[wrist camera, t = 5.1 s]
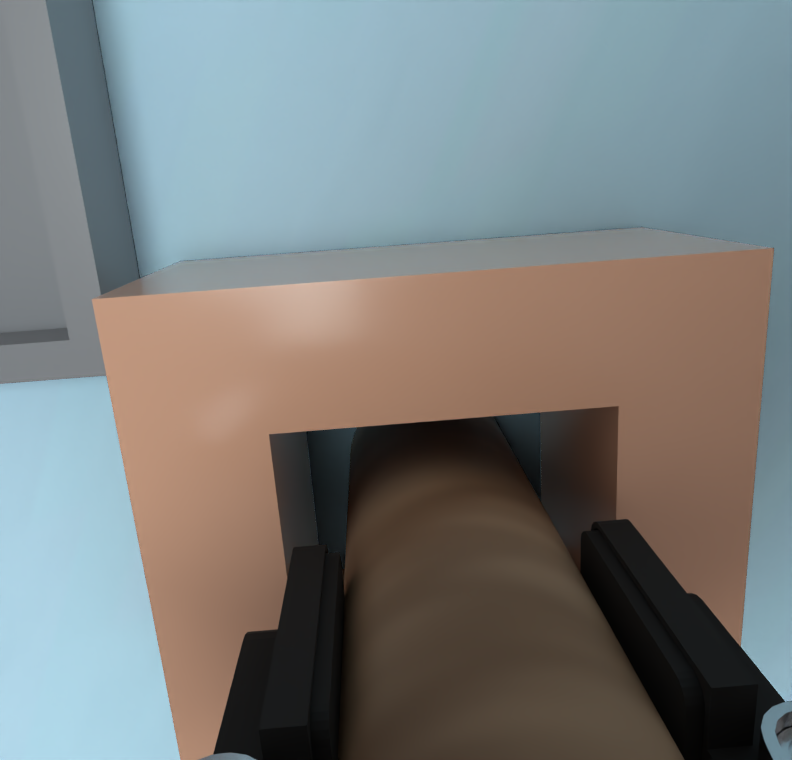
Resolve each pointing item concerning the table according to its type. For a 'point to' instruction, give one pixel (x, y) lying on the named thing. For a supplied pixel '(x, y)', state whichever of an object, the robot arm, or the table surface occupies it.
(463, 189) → the table surface
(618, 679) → the dowel pin
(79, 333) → the tray
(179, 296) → the well block
